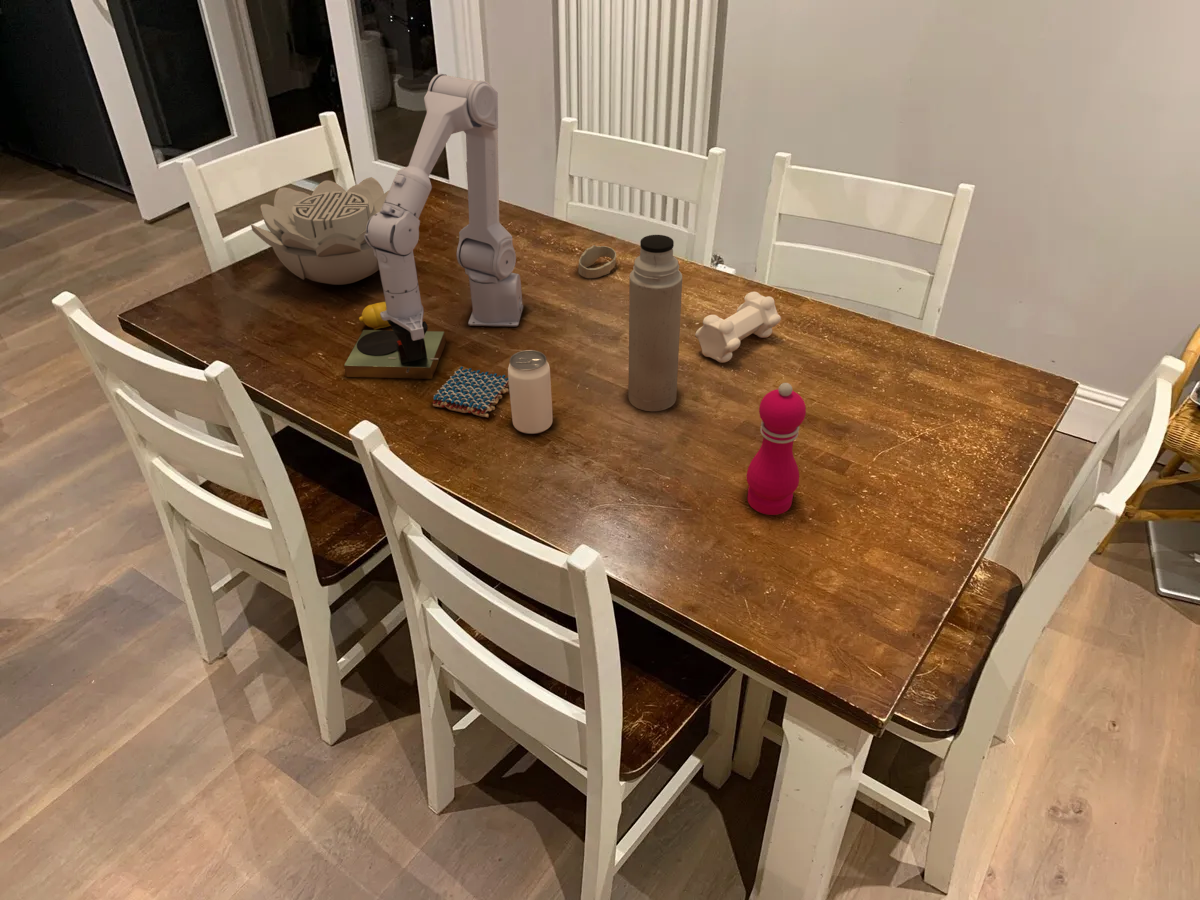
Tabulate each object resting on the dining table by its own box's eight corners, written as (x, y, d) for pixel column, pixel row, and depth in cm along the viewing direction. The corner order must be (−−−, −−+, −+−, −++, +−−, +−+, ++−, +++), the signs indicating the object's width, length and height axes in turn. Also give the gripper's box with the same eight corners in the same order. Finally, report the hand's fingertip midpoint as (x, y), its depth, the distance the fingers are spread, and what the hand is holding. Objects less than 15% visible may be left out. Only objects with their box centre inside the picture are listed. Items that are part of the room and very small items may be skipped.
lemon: (399, 315, 166) (395, 294, 163) (405, 325, 163) (402, 304, 160) (358, 324, 163) (353, 304, 161) (364, 335, 160) (359, 314, 158)
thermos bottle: (636, 380, 147) (638, 225, 130) (681, 389, 145) (690, 232, 128) (622, 406, 141) (622, 247, 124) (668, 415, 139) (676, 255, 122)
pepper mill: (738, 485, 125) (752, 370, 113) (787, 482, 126) (806, 366, 113) (749, 519, 119) (765, 401, 107) (801, 516, 120) (822, 398, 108)
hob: (450, 343, 158) (449, 330, 156) (434, 385, 147) (432, 372, 145) (365, 341, 159) (363, 329, 157) (343, 383, 148) (340, 370, 146)
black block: (425, 353, 150) (421, 334, 148) (427, 357, 149) (424, 338, 147) (399, 359, 149) (395, 340, 146) (401, 364, 148) (397, 344, 145)
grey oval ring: (603, 259, 184) (603, 237, 181) (624, 268, 180) (624, 246, 177) (571, 272, 179) (570, 250, 176) (591, 282, 176) (591, 260, 172)
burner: (409, 331, 156) (409, 330, 156) (398, 356, 150) (398, 355, 150) (364, 330, 157) (364, 329, 157) (351, 355, 150) (350, 354, 150)
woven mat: (429, 408, 142) (427, 398, 140) (459, 374, 149) (458, 364, 148) (486, 420, 139) (485, 410, 137) (514, 385, 146) (513, 375, 145)
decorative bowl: (406, 308, 168) (394, 236, 159) (255, 308, 169) (234, 237, 159) (432, 242, 192) (422, 175, 183) (299, 242, 192) (283, 176, 183)
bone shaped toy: (729, 371, 149) (733, 330, 144) (691, 353, 154) (693, 313, 149) (780, 339, 157) (786, 299, 152) (743, 322, 162) (747, 283, 157)
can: (547, 437, 135) (543, 373, 127) (507, 433, 136) (501, 368, 128) (557, 413, 140) (554, 350, 132) (518, 409, 141) (513, 346, 133)
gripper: (365, 272, 144) (379, 342, 152) (388, 310, 134) (401, 383, 142) (406, 263, 146) (417, 333, 155) (431, 300, 136) (442, 372, 145)
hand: (412, 356), depth 149 cm, fingers closed on black block
